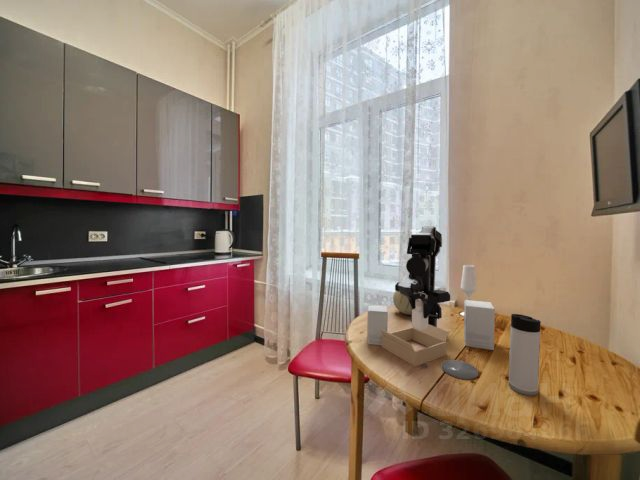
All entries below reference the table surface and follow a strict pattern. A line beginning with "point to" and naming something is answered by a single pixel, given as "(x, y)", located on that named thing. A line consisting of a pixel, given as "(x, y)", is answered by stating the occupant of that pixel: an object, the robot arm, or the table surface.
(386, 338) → the carton
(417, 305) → the salt shaker
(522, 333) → the travel mug
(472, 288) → the champagne flute
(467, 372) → the coaster
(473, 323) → the supplement box
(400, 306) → the cantaloupe
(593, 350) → the table surface
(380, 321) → the supplement box
